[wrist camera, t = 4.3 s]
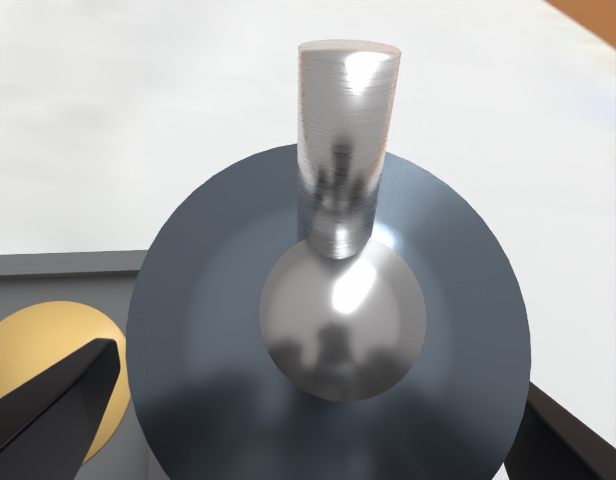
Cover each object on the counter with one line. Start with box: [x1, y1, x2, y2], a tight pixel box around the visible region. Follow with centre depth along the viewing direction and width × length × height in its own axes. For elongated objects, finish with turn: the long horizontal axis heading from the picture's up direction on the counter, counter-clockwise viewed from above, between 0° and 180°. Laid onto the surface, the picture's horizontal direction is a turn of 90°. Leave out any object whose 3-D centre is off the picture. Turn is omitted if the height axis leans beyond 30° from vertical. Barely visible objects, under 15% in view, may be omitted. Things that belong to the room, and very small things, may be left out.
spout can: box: [125, 40, 531, 480], centre depth 10 cm, size 6×6×16 cm
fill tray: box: [0, 250, 170, 480], centre depth 16 cm, size 11×11×2 cm
